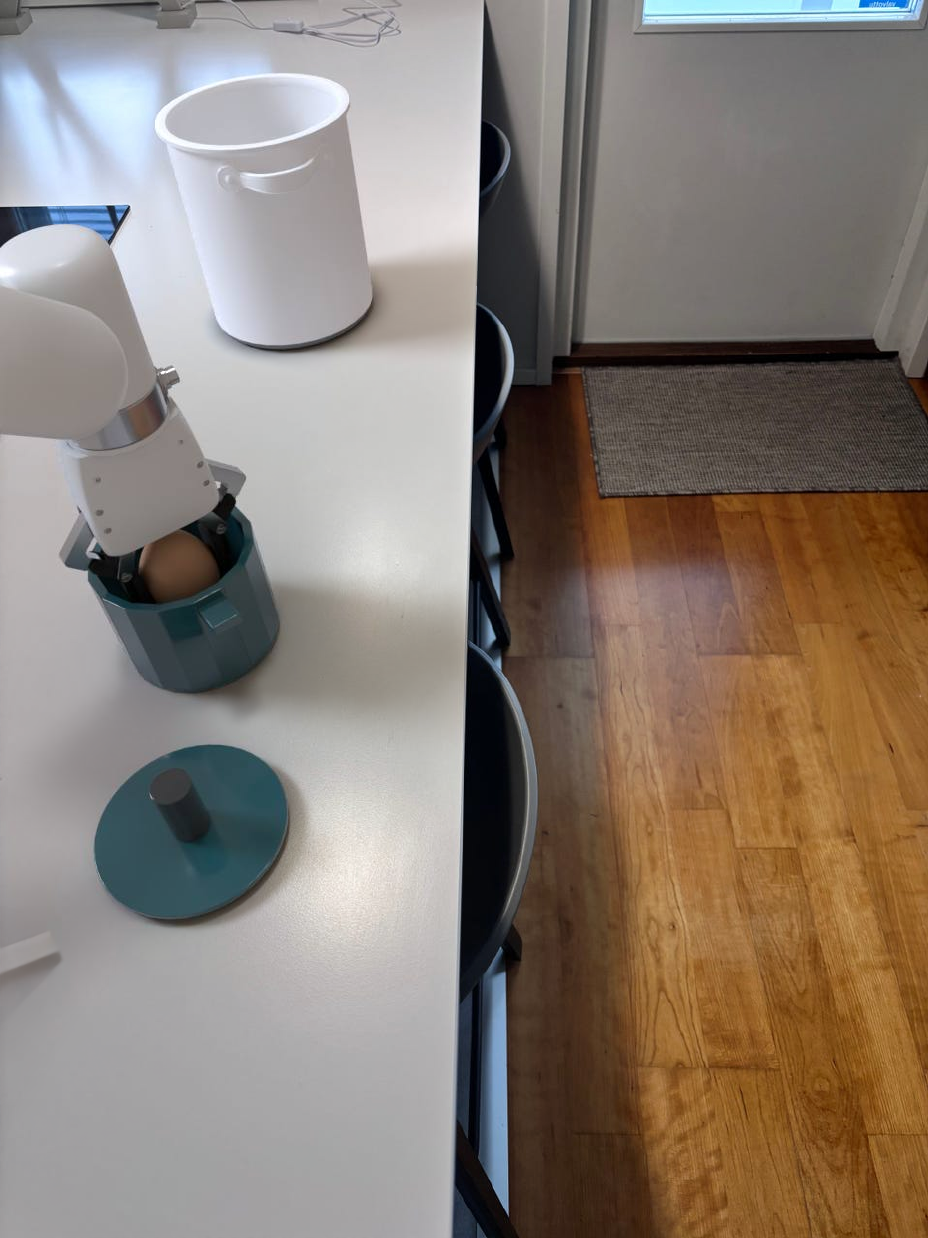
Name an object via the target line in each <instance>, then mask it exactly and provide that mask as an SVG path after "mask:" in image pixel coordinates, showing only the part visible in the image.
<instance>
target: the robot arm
mask: <svg viewBox="0 0 928 1238" xmlns="http://www.w3.org/2000/svg"><path fill="white" fill-rule="evenodd" d="M128 291H129V290H128V289H127V286H126V283H125V281H124V277H123V274H122V272H121V269H120V266H119V263H118V260H117V259H116V256H115V253H114V251H113V248H112V247H111V245H110V244H109V242H108V241H107V240H106V239H105V238H104V237H103V236H102V235H101V234H100V233H98V231H96V230H94V229H92V228H90V227H88V226H84V225H80V224H73V223H60V224H59V223H58V224H51V225H44V226H40V227H36V228H33V229H29V230H27V231H25V232H22V233H20V234H18V235H16V236H14V237H12V238H11V239H9V240H7V241H6V242H5V243H3V245H1V246H0V435H6V436H16V437H27V438H37V439H38V438H39V439H50V440H54V445H55V451H56V456H57V459H58V462H59V463H58V464H59V466H60V470H61V472H62V475H63V478H64V481H65V484H66V486H67V487H66V488H67V489H68V492H69V494H70V497H71V499H72V502H73V504H74V506H75V509H76V511H77V514H78V517H77V518H76V520H75V522H74V524H73V526H72V528H71V530H70V532H69V534H68V535H67V537H66V539H65V540H64V543H63V545H62V546H61V548H60V551H59V553H58V558H59V559H60V560H61V561H62V564H63V565H64V566H65V567H66V568H68V569H73V570H79V571H83V572H86V571H87V572H88V571H90V572H92V573H93V574H95V575H100V576H106V577H111V578H117V579H118V580H119V581H120V583H121V585H122V587H123V589H124V591H125V593H126V595H127V597H128V598H129V600H130V601H131V603H136V602H138V601H140V603H141V604H154V603H153V601H152V599H151V597H150V594H149V592H148V590H147V588H146V586H145V583H144V581H143V579H142V577H141V576H140V574H139V573H138V572H137V570H136V569H135V568H134V560H135V551H136V550H137V549H139V548H141V547H143V546H146V545H148V544H150V543H152V542H154V541H156V540H158V539H160V538H162V537H164V536H166V535H168V534H170V533H172V532H174V531H176V530H178V529H180V528H182V527H184V526H186V525H188V524H190V523H192V522H194V521H196V520H198V519H199V520H198V523H199V524H197V526H198V529H199V531H200V534H201V537H202V539H203V542H204V543H205V544H206V545H207V546H208V547H209V549H210V550H211V552H212V553H213V555H214V557H215V559H216V561H217V564H218V567H219V568H220V569H221V570H222V571H223V572H224V571H225V572H227V571H229V570H231V567H230V564H229V561H228V558H227V555H229V554H231V550H230V547H229V544H228V541H227V538H226V535H225V532H226V530H227V528H228V525H227V523H226V521H227V520H228V518H229V516H230V514H231V512H232V510H233V508H234V506H236V504H237V497H238V496H239V495H240V492H241V491H242V489H243V487H244V484H245V483H246V480H247V475H246V474H245V473H244V472H243V471H242V470H241V469H240V468H239V467H237V466H235V465H232V464H227V463H224V462H220V461H217V460H212V459H209V458H206V456H205V455H204V452H203V450H202V448H201V446H200V444H199V442H198V440H197V438H196V436H195V433H194V432H193V430H192V427H191V426H190V424H189V422H188V420H187V418H186V417H185V415H184V414H183V412H182V410H181V409H180V408H179V406H178V405H177V403H176V401H175V400H174V399H173V397H172V396H171V395H170V394H169V390H171V389H172V388H173V386H175V385H177V384H180V383H181V379H180V376H179V374H178V371H177V370H176V368H175V367H174V366H173V365H169V366H166V367H164V368H163V367H162V366H161V367H159V368H157V367H156V366H155V365H154V362H153V359H152V357H151V354H150V351H149V348H148V345H147V343H146V340H145V337H144V334H143V331H142V329H141V326H140V323H139V321H138V317H137V315H136V312H135V309H134V306H133V303H132V300H131V297H130V294H129V292H128ZM217 482H219V483H220V484H219V487H218V486H217ZM94 539H95V540H96V543H97V542H98V544H99V545H100V546H101V548H102V549H103V551H104V552H105V553H101V552H96V551H92V550H89V551H88V549H89V547H90V545H91V543H92V541H93V540H94Z"/></svg>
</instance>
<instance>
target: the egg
mask: <svg viewBox="0 0 928 1238" xmlns="http://www.w3.org/2000/svg"><path fill="white" fill-rule="evenodd" d="M139 574H140V576H141V577H142V579H143V581H144V583H145V586H146V588H147V590H148V592H149V594H150V597H151V599H152V601H153V603H154V604H157V605H160V604H164V603H168V602H173V601H177V600H182V599H186V598H190V597H192V596H194V595H196V594H198V593H200V592H202V591H203V590H205V589H207V588H209V587H211V586H213V585H215V584H217V583H218V582H219V581H220V572H219V567H218V564H217V561H216V559H215V557H214V555H213V553H212V552H211V550H210V549H209V547H208V546H207V545H206V544H205V543H203V542H202V541H201V540H200V539H198V538H197V537H196V536H194V535H192V534H190V533H188V532H186V531H183V530H176V531H174V532H172V533H170V534H168V535H166V536H164V537H162V538H160V539H158V540H156V541H154V542H152V543H150V544H148V545H146V546H145V547H144V549H143V551H142V554H141V558H140V563H139Z"/></svg>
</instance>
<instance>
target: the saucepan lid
mask: <svg viewBox="0 0 928 1238" xmlns="http://www.w3.org/2000/svg"><path fill="white" fill-rule="evenodd" d="M288 826H289V802H288V799H287V795H286V791H285V789H284V787H283V784H282V781H281V779H280V778H279V776H278V775H277V773H276V772H275V771H274V770H273V768H271V766H270V765H269V764H268V763H267V762H265V761H264V760H263V759H262V758H260V757H259V756H257V755H256V754H254V753H252V752H250V751H247V750H246V749H243V748H239V747H236V746H233V745H226V744H199V745H192V746H188V747H183V748H180V749H177V750H174V751H171V752H169V753H166V754H164V755H161V756H159V757H157V758H155V759H154V760H152V761H150V762H148V763H147V764H145V765H144V766H143V767H141V768H140V769H138V770H137V771H136V772H134V773H133V774H132V775H131V776H130V777H129V778H127V779H126V780H125V782H124V783H123V784H121V785H120V787H119V788H118V789H117V790H116V791H115V792H114V794H113V795H112V796H111V798H110V800H109V801H108V803H107V804H106V806H105V808H104V810H103V811H102V814H101V816H100V817H99V820H98V824H97V827H96V831H95V835H94V841H93V842H94V843H93V857H94V858H93V859H94V864H95V869H96V872H97V875H98V877H99V879H100V882H101V883H102V885H103V886H104V888H105V889H106V891H107V893H108V894H109V895H110V896H111V897H112V898H113V899H114V900H115V901H116V902H117V903H119V904H120V905H121V906H123V907H124V908H126V909H127V910H129V911H132V912H133V913H135V914H138V915H141V916H144V917H147V918H151V919H153V918H154V919H159V920H182V919H189V918H195V917H199V916H203V915H206V914H208V913H212V912H214V911H216V910H219V909H221V908H223V907H226V906H227V905H229V904H230V903H232V902H234V901H236V900H237V899H239V898H240V897H241V896H243V895H244V894H245V893H246V892H248V891H249V890H250V889H252V888H253V887H254V885H256V884H257V883H258V882H259V881H260V880H261V879H262V878H263V877H264V875H265V874H266V873H267V872H268V871H269V869H270V867H271V866H272V865H273V864H274V862H275V860H276V858H277V857H278V855H279V853H280V851H281V849H282V846H283V844H284V841H285V838H286V835H287V829H288Z"/></svg>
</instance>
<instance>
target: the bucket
mask: <svg viewBox="0 0 928 1238" xmlns="http://www.w3.org/2000/svg"><path fill="white" fill-rule="evenodd" d="M350 97H351V96H350V94H349V92H348V90H347V89H346V88H345V87H344V86H342V85H341V84H340V83H338V82H336V81H334V80H332V79H329V78H326V77H322V76H319V75H313V74H312V75H311V74H306V73H294V72H293V73H291V72H277V73H261V74H260V73H259V74H249V75H244V76H238V77H232V78H228V79H224V80H219V81H215V82H212V83H209V84H206V85H204V86H199V87H197V88H195V89H193V90H191V91H188V92H186V93H183V94H182V95H180V96H178V97H176V98H174V99H173V100H171V101H170V102H169V103H167V104H166V105H165V106H163V107H162V108H161V110H160V111H159V112H158V113H157V115H156V117H155V119H154V128H155V133H156V135H157V136H158V137H159V139H160V140H161V141H162V142H164V143H165V145H166V148H167V152H168V154H169V158H170V162H171V166H172V168H173V172H174V176H175V179H176V182H177V186H178V190H179V194H180V197H181V200H182V204H183V206H184V207H183V208H184V210H185V214H186V217H187V222H188V225H189V228H190V232H191V236H192V238H193V242H194V245H195V249H196V253H197V256H198V259H199V263H200V266H201V270H202V273H203V274H202V275H203V277H204V281H205V284H206V287H207V291H208V294H209V298H210V301H211V305H212V309H213V313H214V315H215V318H216V323H218V325H219V326H220V328H221V329H222V331H223V332H224V333H225V334H226V335H228V337H230V338H231V339H233V340H235V341H237V342H239V343H241V344H244V345H247V346H251V347H255V348H259V349H266V350H293V349H301V348H305V347H310V346H315V345H316V346H317V345H318V344H322V343H325V342H328V341H330V340H333V339H335V338H337V337H339V336H341V335H343V334H345V333H346V332H347V331H349V330H351V329H353V327H355V326H356V325H357V324H358V323H359V322H360V321H361V320H363V318H364V317H366V314H368V312H369V310H370V308H371V304H372V300H373V286H372V279H371V272H370V264H369V258H368V252H367V246H366V238H365V232H364V225H363V224H364V223H363V218H362V212H361V205H360V199H359V191H358V185H357V178H356V173H355V172H356V171H355V166H354V158H353V152H352V145H351V137H350V132H349V124H348V118H347V117H348V116H347V115H348V112H349V110H350V108H351V98H350Z"/></svg>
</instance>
